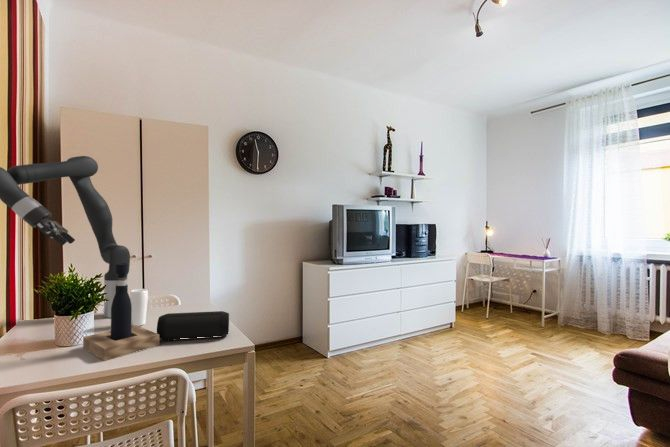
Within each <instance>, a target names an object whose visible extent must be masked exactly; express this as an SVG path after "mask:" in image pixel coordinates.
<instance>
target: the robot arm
mask: <svg viewBox="0 0 670 447" xmlns="http://www.w3.org/2000/svg"><path fill="white" fill-rule="evenodd" d="M98 171H99V164H98V162H97V160H96V159H94V158H93V157H90V156H88V155H87V156H86V155H80V156H72V157H70V158H68V159H67V160H65V161H63V160H62V161H57V162H55V161H54V162H43V163H41V162H40V163H29V164H28V163H27V164H20V165H13V166H11V167H9V168H8V169H7V170H6V169H5V168H3V167H1V166H0V201H1V202H2V203H4V204H5V206H7V207H9V209H11V210H12V211H13V212H14V214H16V215H17V216H18V217H19V218H21V219H22V220H23V221H24V222H25V223H27V225H29V226H30V227H31V228H36V229H38V230H39V231H40V232H41V233H42V234H44V235H45V236H46V237H47V238H48V239H49V238H50V239H53V241H56V242H57V243H58V244H59V245H61V246H64V245H65V244H67V243H68V244H73V243H74V242H75V241H76V239H75V238H74V237H72V235H71V234H69V233H68V232H69V230H68V229H66V228H65V227H64V226H63V225H61V224H60V223H59V222H58V221H56V220H51V218H52V215H53V214H52V212H50V211H49V210H48V209H47V208H46V207H45V206H43V205H42V204H41V203H40V202H39V201H38V200H36V199H35V198H33V197H32V196H30V195H29V194H28V193H27V192H26V191H24V190H23V189H21V187H20V186H19V185H25V184H33V183H40V182H44V181H48V180H55V179H61V178H67V177H69V179H70V181H71V183H72V185H73V187H74V189H75V191H76V193H77V195H78V197H79V200H80V202H81V205H82V208H83V210H84V213H85V215H86V217H87V221H88V223H89V224H90V228H91V230H92V232H93V235H94V236H95V239H96V242H97V245H98V250H99V254H100V257H101V259H102V261H103V262H105V263H106V264H108V270H107V272H105V273H104V276H103V278H104V280H103V281H104V282H103V283H104V284H103V287H104V286H105V285H107V286H106V287H105V289H104V290H103V294H104V293H107V294H106V295H105V298H107V299H110V300H109V301H106V302H104V301H103V317H104V318H108V319H109V318H110V319H111V306H112V302H113V299H114V296H115V294H116V285H117V280H122V279H118V274H116V264H120V263H127V264H128V273H126V279H125V280H127V281H128V275H129V272H130V265H131V262H130V261H131V253H130V250H129V249H128V247H126V246H124V245H120V244H117V241H116V239H115V236H114V233H113V216H112V212H111V210H110V206H109V205H108V204H109V203H107V201H106V200H105V198H104V197H103V196H102V195H101V194H100V193H99V192H98V191H97V189H96V188H95V186H94V185H93V183H92V180H91V177H92V176H94V175H95V174H97V172H98ZM128 295H129V296H130V294H129V293H128Z"/></svg>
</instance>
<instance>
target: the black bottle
mask: <svg viewBox="0 0 670 447" xmlns="http://www.w3.org/2000/svg"><path fill="white" fill-rule="evenodd" d="M126 273H128V264H127V263H120V264H116V274H118V279H122V280H117V285H116V294H115V296H114V299H113V302H112V306H111V318H110V331H111V339H112V340H114V341H117V340H121V339H125V338H129V337H131V326H132V305H131V300H130V294H129V292H128V289H129V288H128V279H127V280H125V279H126ZM128 274H129V273H128ZM128 294H129V295H128Z"/></svg>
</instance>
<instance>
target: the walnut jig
mask: <svg viewBox="0 0 670 447" xmlns="http://www.w3.org/2000/svg"><path fill="white" fill-rule="evenodd" d="M82 337H83V340H82V342H83V343H82V348H83V349H84V350H85V351H87V352H89V353H91V354H92V355H94V356H96V357H97V358H99V359H100V360H102V361H104V362H106V361H109V360H112V359H116V357H117V358H119V357H124V356H126V354H127V355H130V354H129V353H131V354H134V353H133V352H135V353H137V352H136V351H138V352H140V351H139V350H142V351H144V350H143V349H145V350H147V349H146V348H149V349H151V348H150V347H152V348H154V347H153V346H156V347H158V346H157V345H159V346H160V339H159V334H157V332H154V331H152V330H149V329H146V328H144V327H142V326H137V325H135V326H132V325H131V337H129V338H125V339H121V340H117V341H114V340H112V339H111V330H108V331H104V332H99V333H95V334H90V335H86V336H82ZM123 355H124V356H123Z"/></svg>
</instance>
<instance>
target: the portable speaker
mask: <svg viewBox="0 0 670 447" xmlns="http://www.w3.org/2000/svg"><path fill="white" fill-rule="evenodd" d="M229 331H230V313H229V312H225V311H223V310H217V311H216V310H214V311H197V312H196V311H193V312H178V313H177V312H173V313H171V312H170V313H169V312H168V313H166V314H162V315H160V316H158V319H157V324H156V333H157V334H159V340H163V341H175V340H174V339H180V338H197V337H213V336H223V335H225V336H227V335H229V333H228V332H229ZM223 337H224V336H223Z"/></svg>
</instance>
